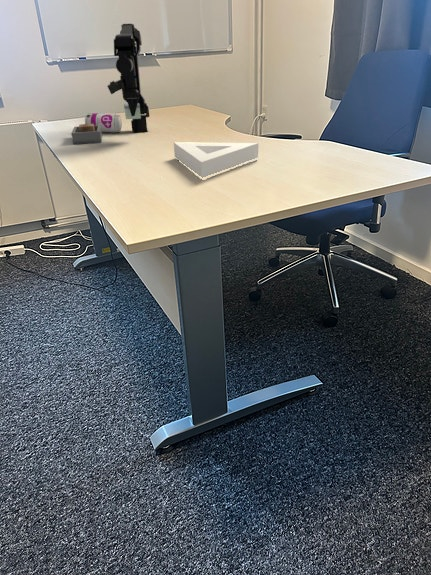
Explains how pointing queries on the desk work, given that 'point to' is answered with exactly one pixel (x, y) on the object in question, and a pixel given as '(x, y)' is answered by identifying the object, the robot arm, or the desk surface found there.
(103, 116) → the supplement can
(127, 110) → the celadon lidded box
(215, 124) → the desk surface
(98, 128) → the tote
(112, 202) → the desk surface
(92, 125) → the walnut block
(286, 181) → the desk surface
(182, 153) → the triangle block
